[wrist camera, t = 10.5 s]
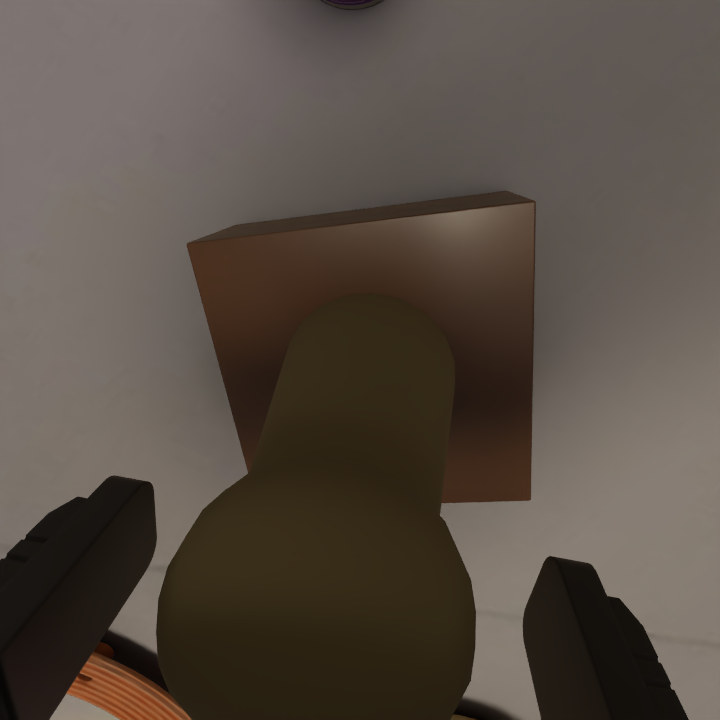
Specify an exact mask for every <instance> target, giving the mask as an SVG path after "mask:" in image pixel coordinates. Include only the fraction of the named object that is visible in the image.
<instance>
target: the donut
mask: <svg viewBox="0 0 720 720" xmlns="http://www.w3.org/2000/svg"><path fill="white" fill-rule="evenodd" d="M450 720H476V719H473V718H469V717H465V716H461V715H454V714H453V715H452V717H451V719H450Z"/></svg>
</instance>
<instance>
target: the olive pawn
mask: <svg viewBox="0 0 720 720" xmlns="http://www.w3.org/2000/svg"><path fill="white" fill-rule="evenodd" d="M454 391H455V360H454V357H453V354H452V352H451V349H450V346H449V344H448V341H447V338H446V336H445V335H444V334H443V332H442V331H441V330H440V329H439V328H438V326H437V325H436V324H435V323H434V322H433V320H432V319H431V318H430V317H429V316H428V315H427V314H425V313H424V312H422V311H420V310H419V309H417V308H416V307H414V306H412V305H411V304H409V303H408V302H406V301H404V300H401V299H397V298H393V297H389V296H385V295H381V294H377V293H370V294H352V295H346V296H343V297H340V298H338V299H335V300H333V301H330V302H328V303H325V304H322V305H321V306H320V307H319V308H317V309H316V310H315V311H314V312H313V313H311V314H310V315H309V316H308V317H307V318H305V319H304V320H303V321H302V322H301V324H300V326H299V327H298V329H297V331H296V332H295V334H294V336H293V338H292V339H291V341H290V343H289V346H288V349H287V352H286V355H285V359H284V362H283V365H282V368H281V372H280V375H279V378H278V381H277V384H276V388H275V391H274V394H273V397H272V401H271V404H270V407H269V410H268V414H267V417H266V420H265V423H264V426H263V430H262V433H261V436H260V439H259V443H258V446H257V449H256V452H255V456H254V459H253V462H252V465H251V468H250V472H249V473H248V474H247V475H246V476H244V477H243V478H242V479H240V480H239V481H237V482H236V483H235V484H233V485H232V486H231V487H229V488H228V489H226V490H225V491H224V492H222V493H221V494H220V495H219V496H218V497H217V498H216V499H215V500H213V501H212V502H211V503H210V504H209V505H208V506H207V507H206V508H204V509H203V510H202V512H201V513H200V515H199V516H198V518H197V520H196V521H195V523H194V524H193V526H192V528H191V529H190V531H189V532H188V534H187V535H186V537H185V539H184V540H183V542H182V544H181V546H180V547H179V549H178V551H177V552H176V554H175V556H174V557H173V559H172V561H171V562H170V564H169V566H168V568H167V571H166V575H165V578H164V582H163V585H162V589H161V592H160V595H159V599H158V613H157V629H156V635H157V653H158V665H159V668H160V670H161V673H162V675H163V678H164V680H165V683H166V685H167V688H168V691H169V693H170V694H171V696H172V697H173V698H174V699H175V700H176V702H177V703H178V704H179V705H180V706H181V708H182V709H183V710H184V711H185V712H186V713H187V715H188V716H189V717H190V718H191V719H192V720H450V719H451V717H452V715H453V714H454V712H455V710H456V708H457V706H458V704H459V702H460V700H461V698H462V696H463V694H464V693H465V691H466V689H467V687H468V685H469V683H470V681H471V674H472V667H473V660H474V652H475V628H476V610H475V603H474V597H473V590H472V584H471V579H470V577H469V574H468V572H467V570H466V568H465V565H464V563H463V561H462V558H461V556H460V554H459V552H458V549H457V547H456V545H455V543H454V540H453V538H452V536H451V534H450V531H449V529H448V527H447V525H446V523H445V521H444V520H443V519H442V517H441V516H440V509H441V501H442V492H443V484H444V476H445V467H446V459H447V450H448V442H449V433H450V425H451V416H452V408H453V399H454Z"/></svg>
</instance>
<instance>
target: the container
mask: <svg viewBox="0 0 720 720" xmlns="http://www.w3.org/2000/svg"><path fill="white" fill-rule="evenodd" d="M322 1H323V2H325V3H327V4H329V5H332V6H335V7H338V8H343V9H361V8H366V7H369V6H372V5H375V4H377V3H379V2H381V1H382V0H322Z"/></svg>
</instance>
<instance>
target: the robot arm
mask: <svg viewBox="0 0 720 720" xmlns="http://www.w3.org/2000/svg"><path fill="white" fill-rule="evenodd" d="M156 541H157V532H156V517H155V502H154V489H153V485H152V484H151V483H150V482H147V481H142V480H136V479H131V478H125V477H120V476H110V477H109V478H107V479H106V480H105V481H104V482H103V483H102V484H101V485H100V486H99V487H98V488H97V489H96V490H95V491H94V492H93V493H92V494H91V495H90V496H89V497H88V498H82V497H76V498H74V499H73V500H71V501H69V502H67V503H66V504H64V505H62V506H60V507H59V508H57V509H55V510H53V511H52V512H50V513H48V514H47V515H46V516H45V517H44V518H43V519H42V520H41V521H40V522H39V523H38V524H37V525H36V526H35V527H34V528H33V529H32V530H31V531H30V532H29V533H28V534H27V535H26V538H25V539H24V540H21V541H20V542H18V543H17V544H16V545H15V546H14V547H13V548H12V549H11V550H10V551H9V552H8V553H7V556H6V558H5V559H1V560H0V720H49V719H50V717H51V716H52V714H53V713H54V711H55V710H56V708H57V707H58V705H59V704H60V702H61V701H62V699H63V698H64V696H65V694H66V693H67V691H68V690H69V688H70V687H71V685H72V684H73V682H74V681H75V679H76V678H77V676H78V674H79V673H80V671H81V670H82V668H83V667H84V665H85V664H86V662H87V661H88V659H89V658H90V656H91V654H92V653H93V651H94V650H95V648H96V647H97V645H98V644H99V642H100V641H101V639H102V638H103V636H104V634H105V633H106V631H107V630H108V628H109V627H110V625H111V624H112V622H113V621H114V619H115V618H116V616H117V615H118V613H119V611H120V610H121V608H122V607H123V605H124V604H125V602H126V601H127V599H128V598H129V596H130V595H131V593H132V591H133V590H134V588H135V587H136V585H137V584H138V582H139V581H140V579H141V578H142V576H143V575H144V573H145V571H146V570H147V568H148V566H149V564H150V562H151V560H152V557H153V554H154V551H155V547H156ZM523 638H524V644H525V649H526V653H527V658H528V662H529V667H530V671H531V675H532V680H533V684H534V689H535V693H536V698H537V702H538V706H539V711H540V715H541V720H689V719H688V717H687V715H686V713H685V711H684V709H683V707H682V705H681V703H680V701H679V699H678V697H677V695H676V693H675V691H674V690H672V689H671V687H670V684H671V683H670V680H669V678H668V676H667V674H666V672H665V670H664V668H663V666H662V664H661V663H659V662H658V656H657V654H656V652H655V650H654V648H653V646H652V644H651V641H650V639H649V637H648V635H647V633H646V631H645V629H644V627H643V625H642V624H641V623H640V622H639V621H638V620H637V618H636V617H635V616H634V615H633V614H632V613H631V611H630V610H629V609H628V608H627V607H626V606H625V604H624V603H623V602H622V601H621V600H620V599H619V598H615V597H609V596H607V595H606V593H605V590H604V588H603V586H602V583H601V581H600V579H599V577H598V574H597V572H596V570H595V569H594V567H593V566H592V565H591V564H589V563H585V562H579V561H574V560H568V559H563V558H557V557H552V556H549V557H548V558H546V560H545V561H544V563H543V566H542V568H541V571H540V573H539V576H538V578H537V581H536V583H535V586H534V588H533V590H532V593H531V595H530V598H529V600H528V603H527V605H526V608H525V612H524V617H523Z"/></svg>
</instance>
